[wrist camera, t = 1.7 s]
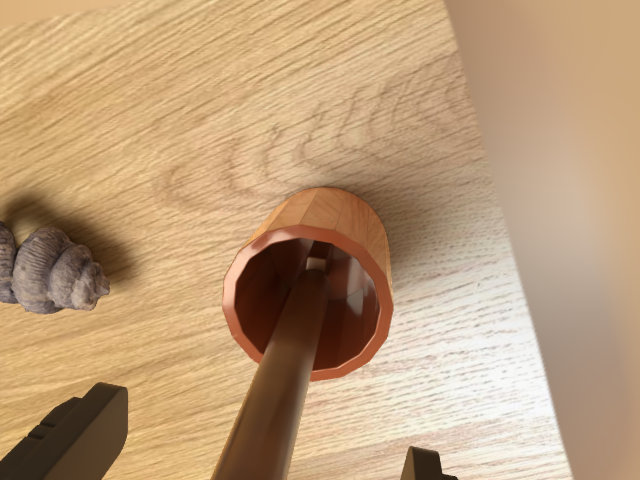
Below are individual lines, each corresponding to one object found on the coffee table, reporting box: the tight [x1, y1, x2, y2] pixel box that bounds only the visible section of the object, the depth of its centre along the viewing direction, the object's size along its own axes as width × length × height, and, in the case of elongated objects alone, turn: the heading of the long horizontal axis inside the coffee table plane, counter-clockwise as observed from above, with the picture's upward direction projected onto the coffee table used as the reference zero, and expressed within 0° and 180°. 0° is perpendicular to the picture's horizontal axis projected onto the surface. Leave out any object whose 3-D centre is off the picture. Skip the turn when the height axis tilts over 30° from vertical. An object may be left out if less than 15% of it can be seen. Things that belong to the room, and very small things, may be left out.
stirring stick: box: [210, 240, 333, 480], centre depth 19 cm, size 3×2×18 cm, turn 172°
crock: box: [222, 187, 394, 382], centre depth 24 cm, size 8×8×8 cm
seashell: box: [0, 220, 110, 314], centre depth 28 cm, size 5×5×10 cm
